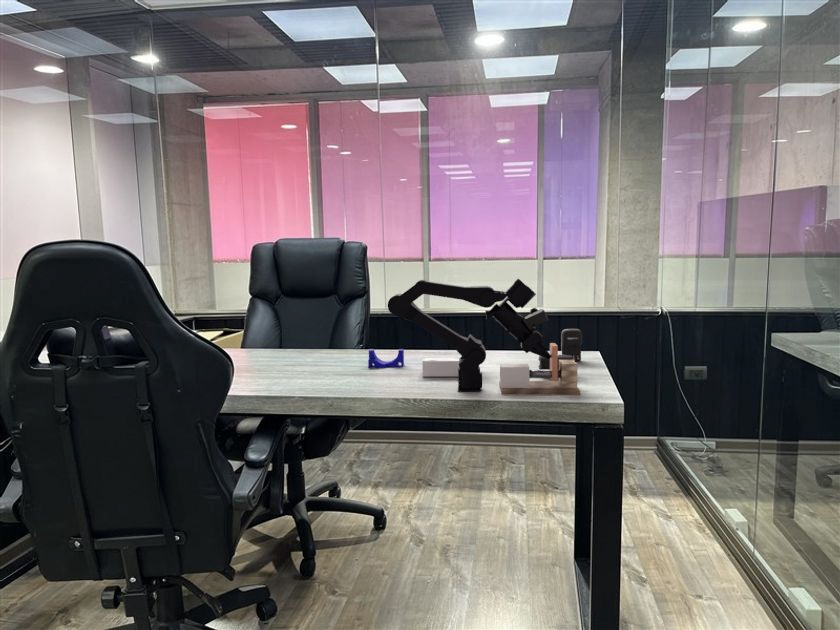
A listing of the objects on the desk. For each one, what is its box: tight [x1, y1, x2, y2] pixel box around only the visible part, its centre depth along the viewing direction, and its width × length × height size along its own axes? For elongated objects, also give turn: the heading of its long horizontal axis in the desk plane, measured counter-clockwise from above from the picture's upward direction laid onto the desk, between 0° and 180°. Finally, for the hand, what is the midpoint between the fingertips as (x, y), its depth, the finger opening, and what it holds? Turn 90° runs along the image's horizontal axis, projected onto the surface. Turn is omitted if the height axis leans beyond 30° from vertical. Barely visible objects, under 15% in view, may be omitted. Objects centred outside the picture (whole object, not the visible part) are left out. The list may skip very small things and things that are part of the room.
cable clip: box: [367, 348, 405, 369], centre depth 199 cm, size 12×4×6 cm, turn 86°
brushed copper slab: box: [529, 342, 561, 381], centre depth 162 cm, size 13×5×10 cm, turn 85°
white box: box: [421, 357, 461, 377], centre depth 185 cm, size 18×10×10 cm, turn 85°
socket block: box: [558, 360, 578, 388], centre depth 162 cm, size 4×6×7 cm
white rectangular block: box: [499, 363, 530, 388], centre depth 163 cm, size 8×5×6 cm, turn 85°
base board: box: [499, 380, 581, 396], centre depth 163 cm, size 22×12×1 cm, turn 85°
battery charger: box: [560, 328, 583, 362], centre depth 200 cm, size 7×4×11 cm, turn 84°
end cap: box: [538, 354, 573, 370], centre depth 179 cm, size 10×7×7 cm
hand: (550, 357), depth 162 cm, fingers closed, pressing on brushed copper slab
